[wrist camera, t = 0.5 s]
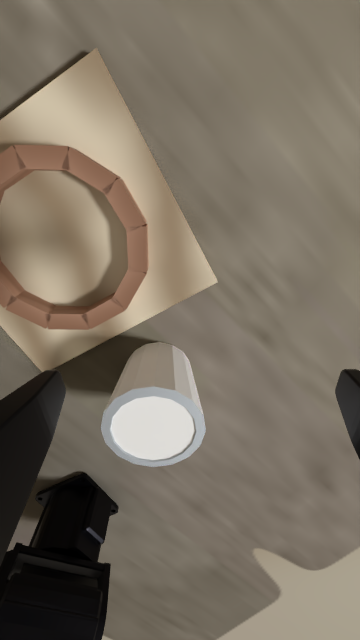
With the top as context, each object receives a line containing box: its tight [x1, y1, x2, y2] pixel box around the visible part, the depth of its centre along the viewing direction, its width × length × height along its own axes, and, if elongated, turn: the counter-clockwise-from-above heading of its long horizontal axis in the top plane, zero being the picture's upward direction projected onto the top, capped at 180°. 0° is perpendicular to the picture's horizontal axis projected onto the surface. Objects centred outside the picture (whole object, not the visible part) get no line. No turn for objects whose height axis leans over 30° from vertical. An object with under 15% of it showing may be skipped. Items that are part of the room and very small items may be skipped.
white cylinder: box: [101, 342, 206, 467], centre depth 22 cm, size 7×7×7 cm
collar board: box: [0, 48, 218, 372], centre depth 20 cm, size 16×15×2 cm
